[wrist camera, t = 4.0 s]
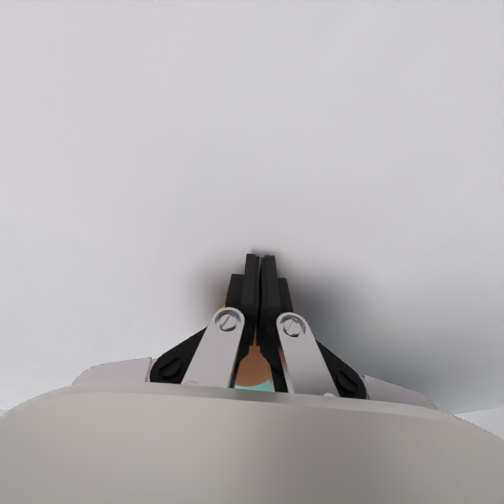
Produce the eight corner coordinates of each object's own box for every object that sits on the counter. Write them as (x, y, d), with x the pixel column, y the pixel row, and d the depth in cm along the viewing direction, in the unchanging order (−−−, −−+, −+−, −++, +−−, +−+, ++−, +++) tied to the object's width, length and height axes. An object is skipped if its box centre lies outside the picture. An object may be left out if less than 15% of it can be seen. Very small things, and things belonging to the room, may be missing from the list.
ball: (303, 388, 9) (275, 397, 13) (297, 289, 12) (277, 320, 16) (188, 368, 8) (197, 384, 12) (218, 274, 12) (217, 309, 16)
